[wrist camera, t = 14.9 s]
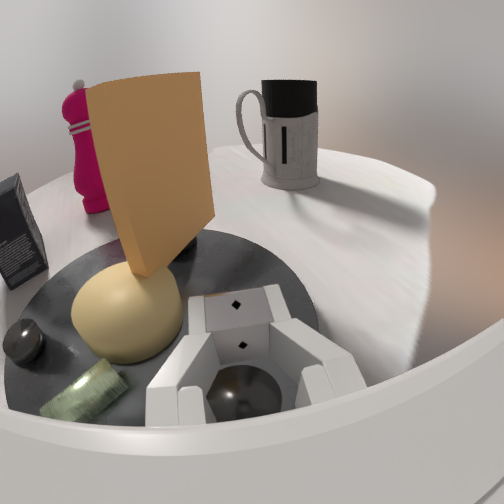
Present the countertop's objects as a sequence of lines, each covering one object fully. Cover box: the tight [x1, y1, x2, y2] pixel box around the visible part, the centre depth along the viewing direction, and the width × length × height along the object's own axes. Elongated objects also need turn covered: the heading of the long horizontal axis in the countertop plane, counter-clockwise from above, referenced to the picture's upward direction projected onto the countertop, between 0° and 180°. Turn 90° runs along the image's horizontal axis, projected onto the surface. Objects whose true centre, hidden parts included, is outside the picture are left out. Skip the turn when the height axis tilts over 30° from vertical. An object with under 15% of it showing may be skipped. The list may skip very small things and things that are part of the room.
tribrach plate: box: [3, 229, 319, 427], centre depth 16 cm, size 23×23×4 cm
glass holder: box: [236, 80, 319, 190], centre depth 34 cm, size 9×14×15 cm, turn 136°
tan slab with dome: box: [71, 72, 215, 364], centre depth 15 cm, size 14×7×14 cm, turn 159°
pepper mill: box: [62, 80, 110, 213], centre depth 32 cm, size 7×7×20 cm
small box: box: [0, 173, 48, 290], centre depth 23 cm, size 11×6×10 cm, turn 45°
